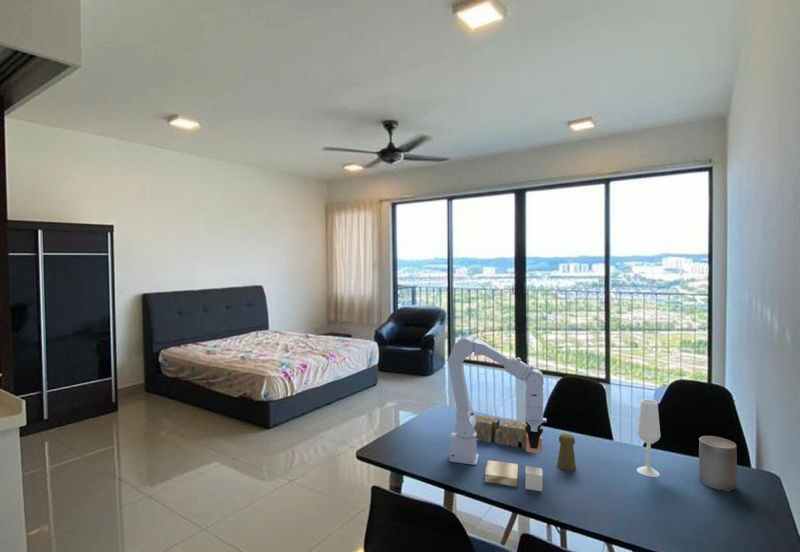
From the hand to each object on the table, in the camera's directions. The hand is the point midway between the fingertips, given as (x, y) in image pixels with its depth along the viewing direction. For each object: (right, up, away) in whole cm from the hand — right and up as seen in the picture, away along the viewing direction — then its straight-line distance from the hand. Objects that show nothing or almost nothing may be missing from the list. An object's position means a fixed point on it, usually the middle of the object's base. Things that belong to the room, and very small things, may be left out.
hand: (533, 444), depth 144 cm
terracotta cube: (0, -2, 0) cm, 2 cm away
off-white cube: (-3, -9, -10) cm, 14 cm away
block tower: (-6, -8, +25) cm, 27 cm away
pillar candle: (+56, -9, -9) cm, 57 cm away
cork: (+12, -9, +3) cm, 15 cm away
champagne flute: (+38, -9, -1) cm, 39 cm away
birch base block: (-12, -9, -4) cm, 16 cm away
